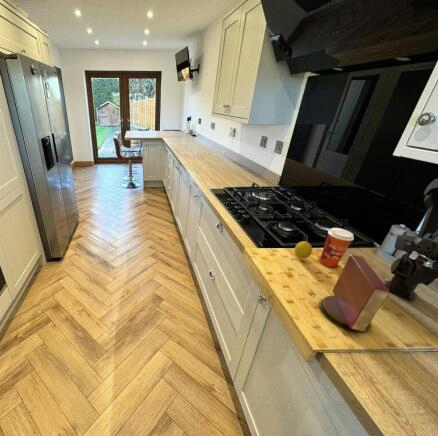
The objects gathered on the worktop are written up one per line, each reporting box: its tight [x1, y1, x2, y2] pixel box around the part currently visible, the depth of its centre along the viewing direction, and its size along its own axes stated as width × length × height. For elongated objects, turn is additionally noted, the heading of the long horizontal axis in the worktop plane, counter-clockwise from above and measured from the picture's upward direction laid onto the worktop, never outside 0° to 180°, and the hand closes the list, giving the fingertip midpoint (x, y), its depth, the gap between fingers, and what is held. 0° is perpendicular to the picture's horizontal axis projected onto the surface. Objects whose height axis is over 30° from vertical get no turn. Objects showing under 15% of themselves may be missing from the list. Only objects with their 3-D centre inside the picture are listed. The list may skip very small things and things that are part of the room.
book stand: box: [322, 254, 391, 333], centre depth 65 cm, size 11×15×15 cm
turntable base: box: [319, 299, 371, 333], centre depth 69 cm, size 12×12×1 cm
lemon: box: [294, 240, 313, 260], centre depth 92 cm, size 6×6×8 cm
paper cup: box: [319, 227, 355, 269], centre depth 89 cm, size 8×8×14 cm
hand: (407, 285), depth 64 cm, fingers closed
